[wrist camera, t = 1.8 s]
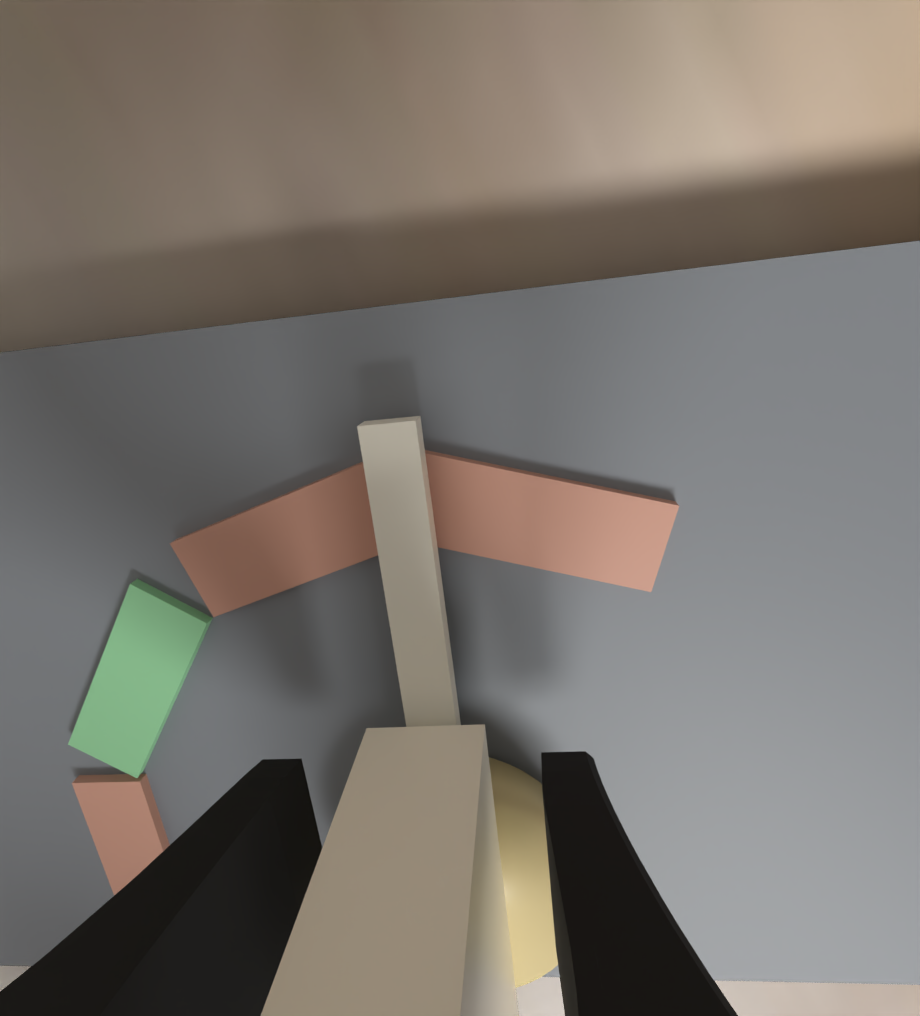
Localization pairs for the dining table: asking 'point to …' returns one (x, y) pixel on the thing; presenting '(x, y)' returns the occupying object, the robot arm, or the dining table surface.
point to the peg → (421, 815)
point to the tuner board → (493, 584)
